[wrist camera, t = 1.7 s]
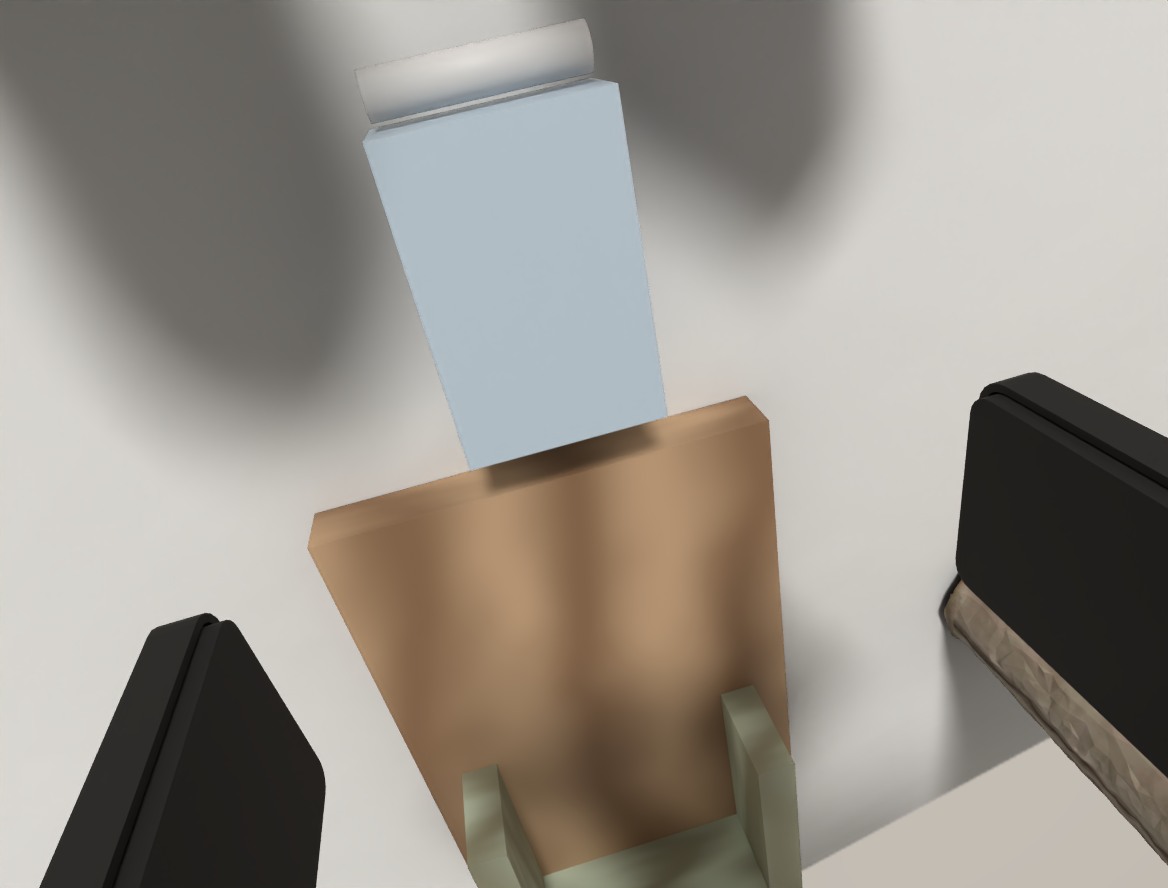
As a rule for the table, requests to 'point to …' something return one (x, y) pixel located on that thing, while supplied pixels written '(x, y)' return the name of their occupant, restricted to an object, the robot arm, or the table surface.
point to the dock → (588, 655)
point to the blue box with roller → (519, 239)
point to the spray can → (1066, 718)
